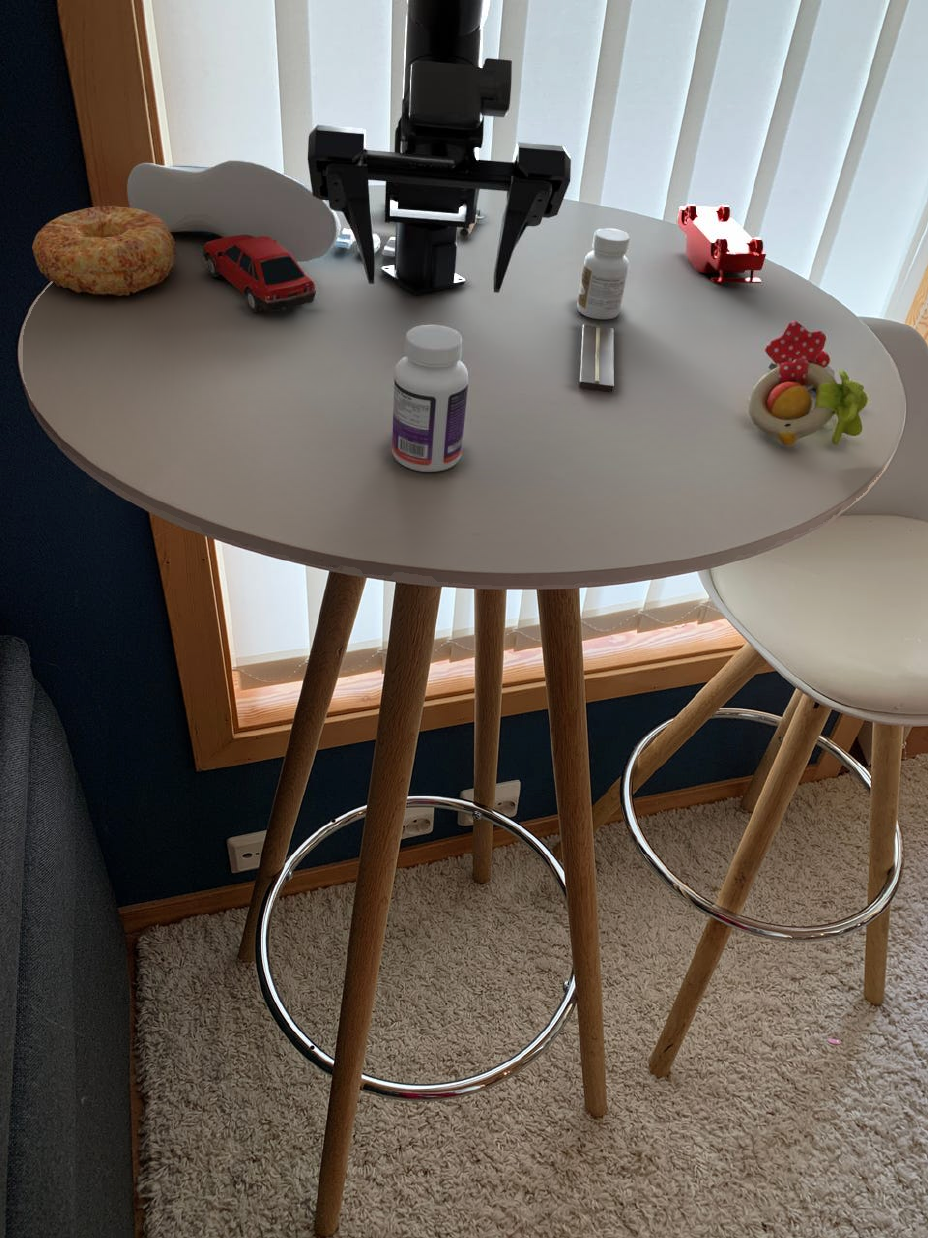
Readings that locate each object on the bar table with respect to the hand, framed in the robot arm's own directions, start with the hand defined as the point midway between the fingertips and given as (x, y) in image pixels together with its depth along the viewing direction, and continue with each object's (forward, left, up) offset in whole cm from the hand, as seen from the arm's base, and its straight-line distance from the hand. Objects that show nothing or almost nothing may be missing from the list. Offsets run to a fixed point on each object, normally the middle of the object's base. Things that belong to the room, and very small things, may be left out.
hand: (434, 285), depth 68 cm
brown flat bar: (-2, +21, -11) cm, 24 cm away
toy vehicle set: (-33, +15, -11) cm, 38 cm away
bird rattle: (+14, +24, -10) cm, 30 cm away
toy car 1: (-28, 0, -11) cm, 31 cm away
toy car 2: (-14, +50, -6) cm, 52 cm away
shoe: (-38, +1, -7) cm, 39 cm away
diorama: (+13, +33, -9) cm, 37 cm away
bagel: (-37, -12, -6) cm, 40 cm away
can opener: (-37, +30, -10) cm, 49 cm away
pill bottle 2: (-10, +28, -11) cm, 32 cm away
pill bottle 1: (+4, -3, -11) cm, 13 cm away
